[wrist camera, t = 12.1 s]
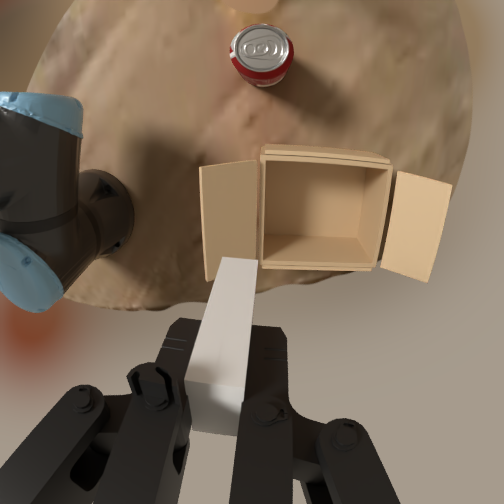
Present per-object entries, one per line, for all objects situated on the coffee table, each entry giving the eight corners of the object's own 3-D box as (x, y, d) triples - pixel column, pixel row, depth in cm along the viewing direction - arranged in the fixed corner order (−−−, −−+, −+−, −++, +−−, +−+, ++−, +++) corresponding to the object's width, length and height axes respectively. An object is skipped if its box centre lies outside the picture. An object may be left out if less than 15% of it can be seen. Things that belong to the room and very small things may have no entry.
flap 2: (427, 283, 33) (427, 281, 34) (452, 185, 27) (452, 184, 28) (380, 267, 37) (381, 265, 37) (397, 171, 31) (398, 170, 32)
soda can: (289, 85, 36) (298, 75, 25) (241, 89, 37) (231, 81, 26) (284, 42, 33) (291, 17, 22) (236, 46, 34) (224, 23, 23)
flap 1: (201, 167, 28) (199, 166, 28) (207, 281, 34) (205, 280, 34) (257, 160, 32) (254, 159, 32) (255, 264, 38) (253, 262, 38)
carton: (259, 240, 47) (257, 269, 39) (261, 141, 40) (260, 149, 32) (357, 243, 46) (374, 271, 38) (370, 149, 40) (393, 160, 31)
